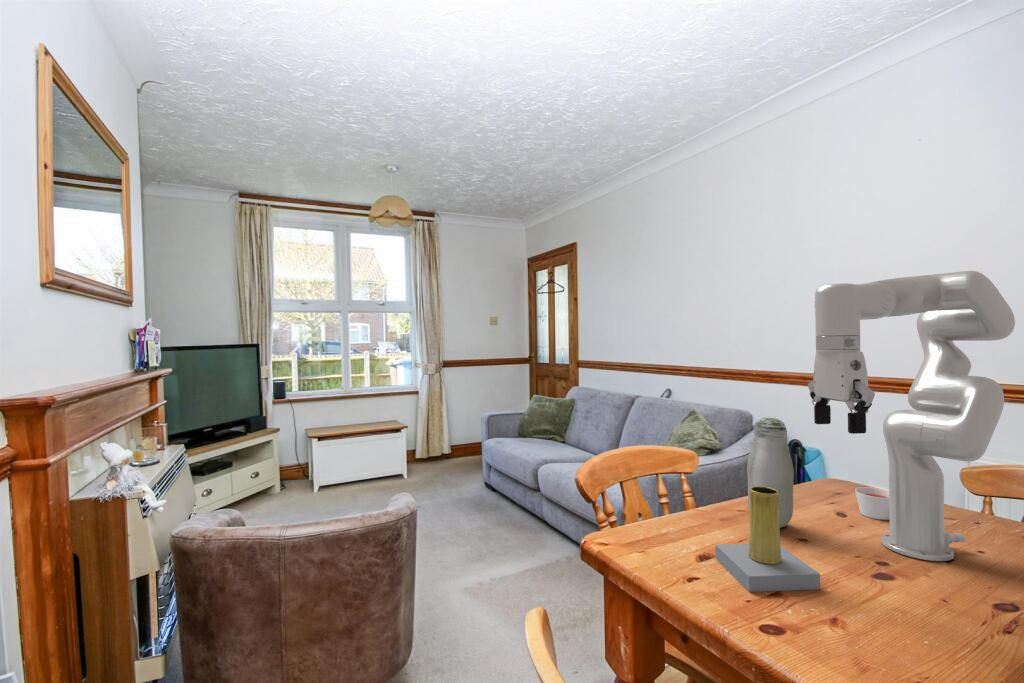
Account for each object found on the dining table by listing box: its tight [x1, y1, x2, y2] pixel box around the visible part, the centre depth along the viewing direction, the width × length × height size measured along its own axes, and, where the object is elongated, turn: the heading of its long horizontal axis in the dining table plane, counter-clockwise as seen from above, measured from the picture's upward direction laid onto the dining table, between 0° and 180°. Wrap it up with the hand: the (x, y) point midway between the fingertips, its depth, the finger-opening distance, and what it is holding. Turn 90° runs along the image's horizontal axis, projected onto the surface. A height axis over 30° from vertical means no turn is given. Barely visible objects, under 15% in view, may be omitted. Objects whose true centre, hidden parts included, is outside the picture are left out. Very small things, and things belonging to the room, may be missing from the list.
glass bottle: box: [746, 417, 795, 529], centre depth 122 cm, size 10×10×28 cm
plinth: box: [714, 543, 821, 593], centre depth 98 cm, size 14×14×3 cm
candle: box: [854, 486, 890, 521], centre depth 128 cm, size 9×9×6 cm
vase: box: [748, 486, 782, 565], centre depth 98 cm, size 6×6×14 cm
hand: (839, 428), depth 97 cm, fingers open, 9 cm apart
